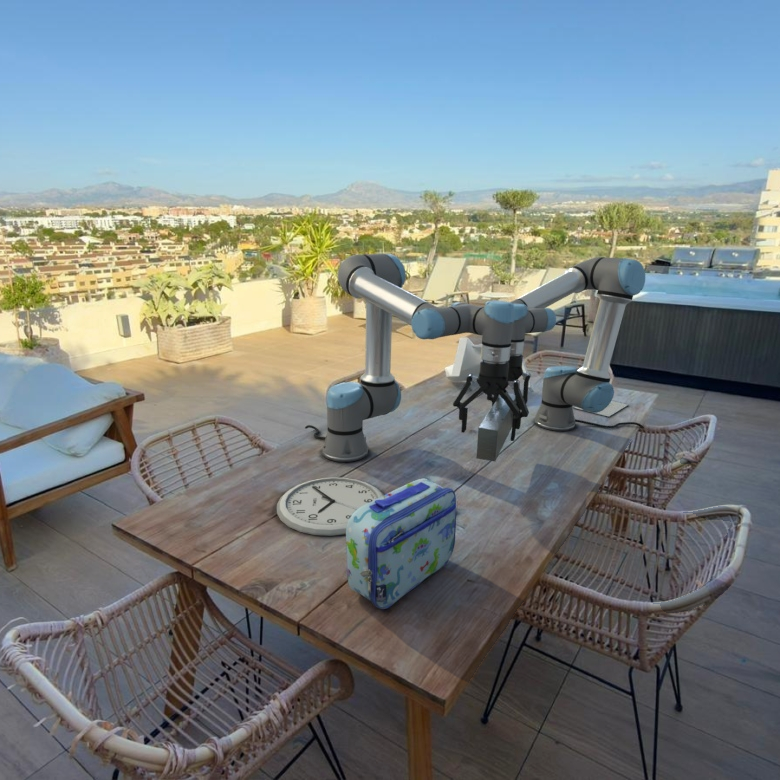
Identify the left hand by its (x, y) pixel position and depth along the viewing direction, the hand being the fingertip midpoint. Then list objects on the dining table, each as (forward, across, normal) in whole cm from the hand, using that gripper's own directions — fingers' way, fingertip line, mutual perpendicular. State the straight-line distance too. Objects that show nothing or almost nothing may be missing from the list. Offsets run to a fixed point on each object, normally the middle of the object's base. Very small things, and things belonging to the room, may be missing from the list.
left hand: (487, 435), depth 144 cm
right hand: (+7, 0, +29) cm, 30 cm away
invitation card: (+19, +32, +98) cm, 104 cm away
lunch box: (+18, -8, -45) cm, 49 cm away
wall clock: (+19, -37, -22) cm, 47 cm away
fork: (+18, -6, -18) cm, 27 cm away
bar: (+7, 0, +16) cm, 17 cm away
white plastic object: (+20, -20, +102) cm, 106 cm away
